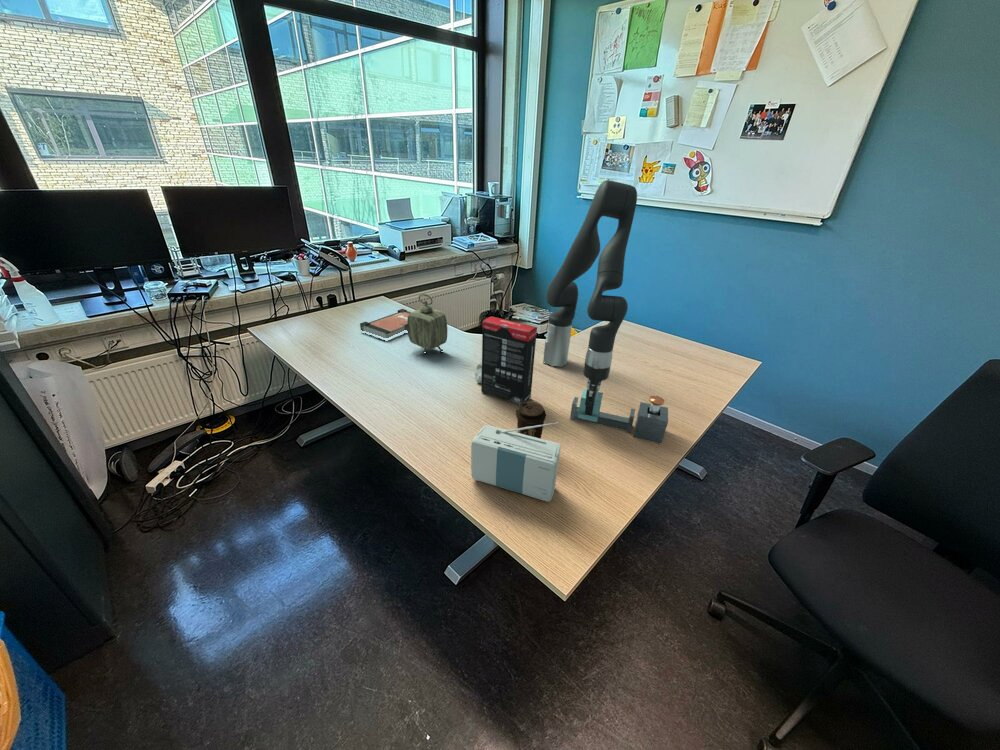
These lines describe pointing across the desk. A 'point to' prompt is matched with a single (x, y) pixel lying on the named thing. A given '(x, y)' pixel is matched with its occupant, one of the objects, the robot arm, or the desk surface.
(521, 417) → the coffee cup
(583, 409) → the carriage
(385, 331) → the book
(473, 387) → the desk surface
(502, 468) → the stereo radio cassette player
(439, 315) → the tabletop clock
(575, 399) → the rail
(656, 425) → the grey cube with hole
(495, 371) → the graphics card box
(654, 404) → the plunger
